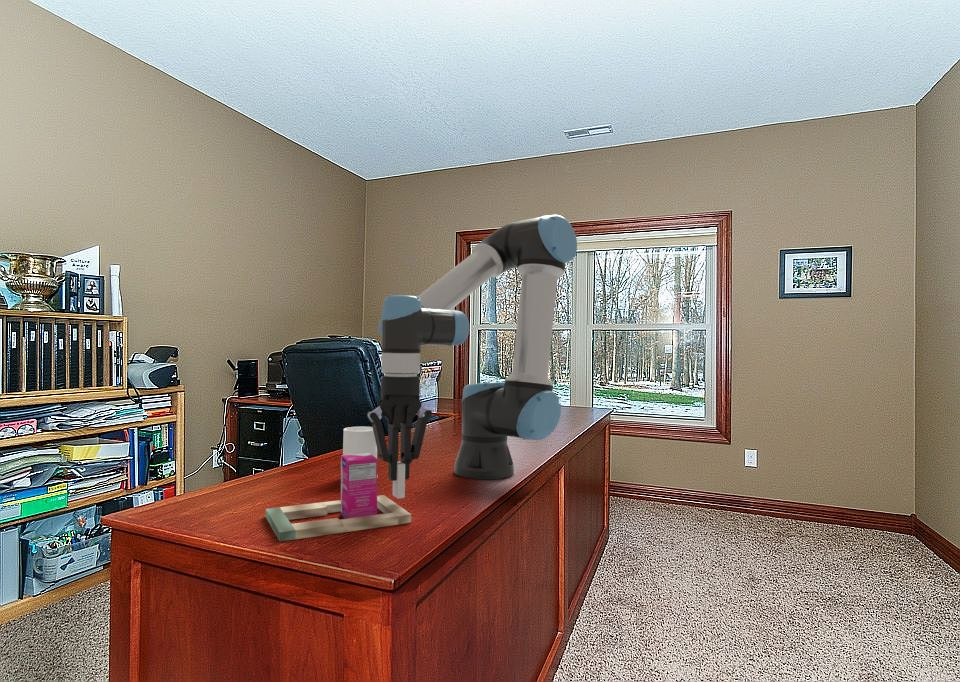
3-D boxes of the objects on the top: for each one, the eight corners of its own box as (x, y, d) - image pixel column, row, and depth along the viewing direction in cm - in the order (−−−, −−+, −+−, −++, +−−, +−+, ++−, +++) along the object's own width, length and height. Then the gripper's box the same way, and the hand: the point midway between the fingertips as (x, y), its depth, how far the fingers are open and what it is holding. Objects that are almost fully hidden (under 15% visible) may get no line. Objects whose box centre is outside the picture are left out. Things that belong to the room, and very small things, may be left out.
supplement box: (339, 514, 109) (340, 454, 109) (370, 511, 112) (371, 452, 112) (346, 523, 104) (347, 460, 104) (378, 519, 106) (379, 457, 107)
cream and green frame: (383, 502, 118) (383, 495, 118) (411, 522, 105) (411, 514, 105) (265, 516, 107) (265, 508, 107) (279, 541, 94) (279, 532, 94)
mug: (357, 470, 147) (358, 423, 147) (388, 472, 145) (389, 425, 145) (335, 481, 136) (336, 430, 136) (368, 483, 134) (369, 432, 134)
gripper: (423, 373, 118) (421, 488, 118) (362, 374, 112) (360, 495, 112) (439, 375, 112) (437, 497, 111) (374, 376, 105) (372, 505, 105)
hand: (398, 496), depth 112 cm, fingers closed
